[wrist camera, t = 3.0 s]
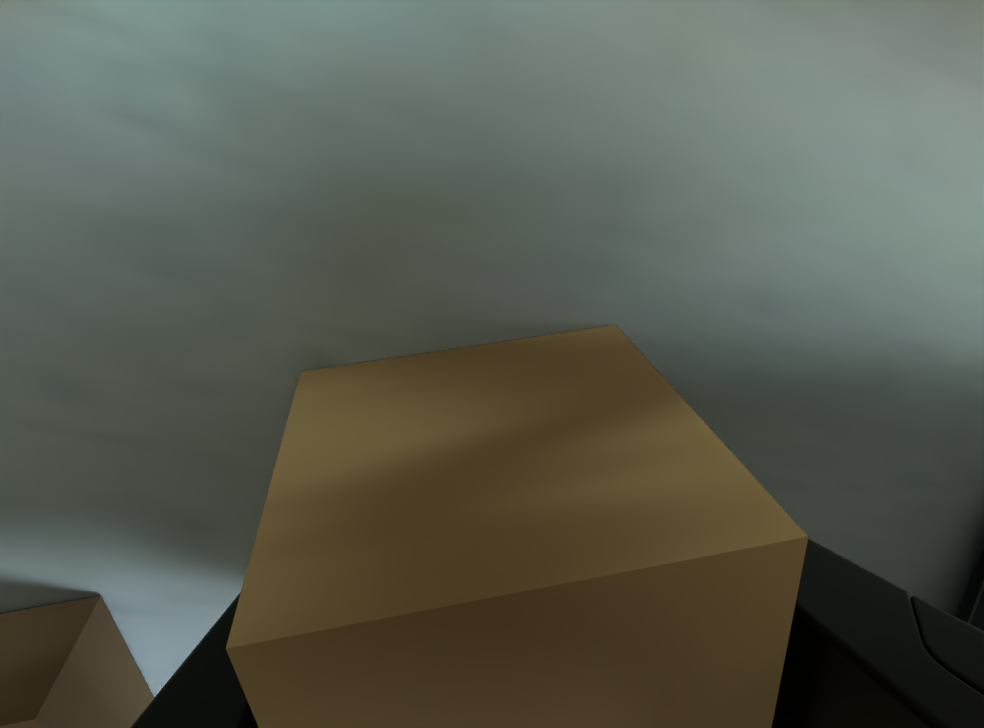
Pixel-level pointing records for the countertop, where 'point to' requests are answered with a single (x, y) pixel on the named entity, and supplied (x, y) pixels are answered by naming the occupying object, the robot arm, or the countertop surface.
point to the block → (512, 550)
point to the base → (68, 669)
